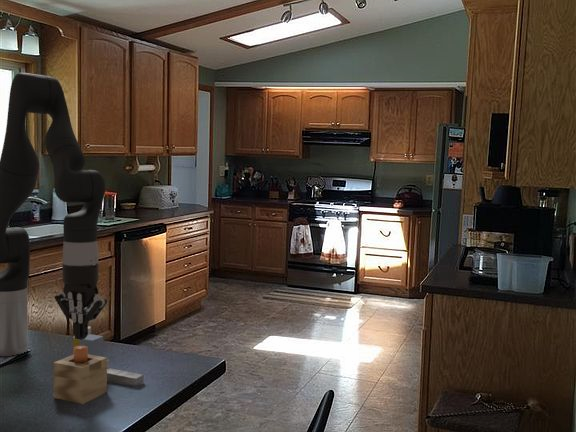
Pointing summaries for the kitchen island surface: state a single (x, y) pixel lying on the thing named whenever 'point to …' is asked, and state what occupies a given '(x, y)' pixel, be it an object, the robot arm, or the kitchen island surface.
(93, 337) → the carriage
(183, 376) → the kitchen island surface
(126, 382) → the rail
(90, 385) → the open wooden box
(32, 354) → the kitchen island surface
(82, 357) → the brown egg
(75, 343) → the supplement bottle
